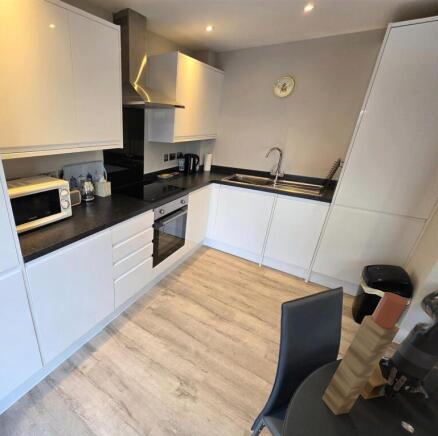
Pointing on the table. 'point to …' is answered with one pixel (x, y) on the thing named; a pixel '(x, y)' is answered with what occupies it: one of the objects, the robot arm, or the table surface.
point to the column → (358, 365)
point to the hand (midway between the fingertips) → (389, 394)
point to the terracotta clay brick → (389, 310)
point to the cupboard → (374, 384)
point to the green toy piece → (384, 393)
